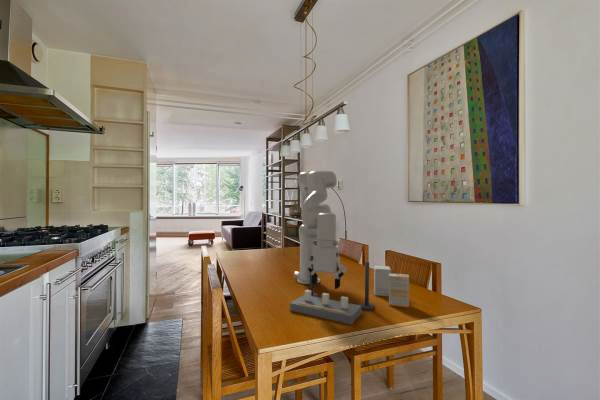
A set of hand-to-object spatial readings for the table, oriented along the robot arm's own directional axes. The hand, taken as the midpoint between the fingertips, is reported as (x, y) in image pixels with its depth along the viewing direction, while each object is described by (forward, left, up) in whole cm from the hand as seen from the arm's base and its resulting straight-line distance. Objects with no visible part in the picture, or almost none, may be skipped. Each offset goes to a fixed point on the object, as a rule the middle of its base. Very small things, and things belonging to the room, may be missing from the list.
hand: (325, 286), depth 118 cm
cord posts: (0, +13, -10) cm, 17 cm away
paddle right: (+8, 0, -7) cm, 11 cm away
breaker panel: (0, 0, -10) cm, 10 cm away
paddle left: (-8, 0, -7) cm, 11 cm away
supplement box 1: (+14, +35, -10) cm, 39 cm away
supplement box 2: (+24, +23, -10) cm, 35 cm away
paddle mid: (0, 0, -7) cm, 7 cm away
